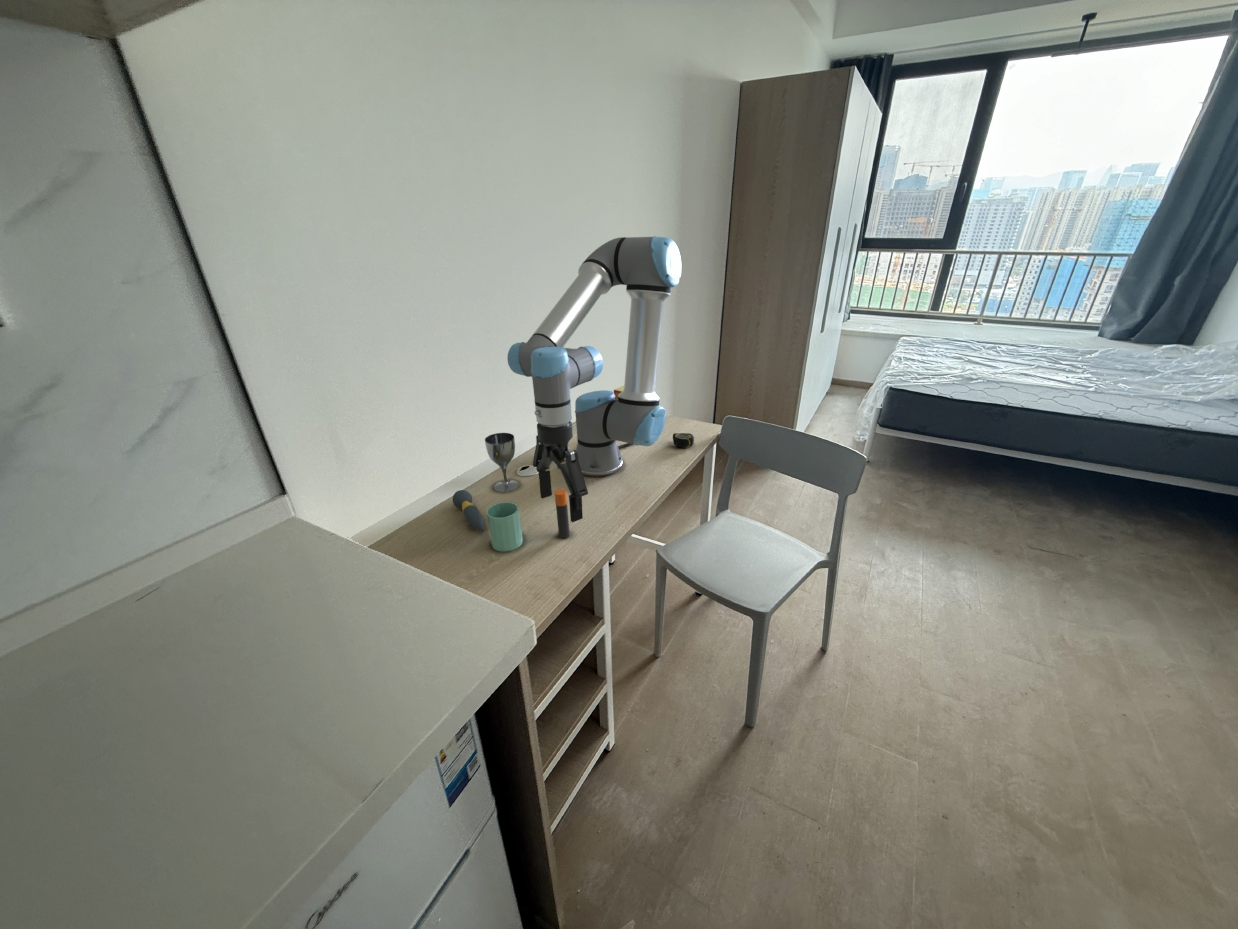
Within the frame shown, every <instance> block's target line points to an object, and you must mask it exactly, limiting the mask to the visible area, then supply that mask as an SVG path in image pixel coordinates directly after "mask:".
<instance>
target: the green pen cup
mask: <svg viewBox="0 0 1238 929" xmlns="http://www.w3.org/2000/svg"><path fill="white" fill-rule="evenodd" d="M485 513H486V520H487V525H488V531H489V537H490V543H491V547H492V548H493V549H494V550H495V551H498V552H511V551H514V550H516V549H518V548H519V547H521V546H522V544H523V543H524V536H523V531H522V523H521V522H522V521H521V515H520V508H519V505H518V504H516V503H514V502H513V501H501V502H497V503H494V504H492V505H490V506H489V507H488V508H487V509H486V512H485Z"/></svg>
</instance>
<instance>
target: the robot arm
mask: <svg viewBox="0 0 1238 929" xmlns="http://www.w3.org/2000/svg"><path fill="white" fill-rule="evenodd" d="M681 276H682V258H681V253H680V250H679V247H678V245H677V244H676V241H674V240H673V239H672V238H670V237H666V236H656V235H654V236H634V237H627V236H624V237H623V236H621V237H616V238H613V239H610V240H608V241H607V242H605V243H603V244H602V245H600V246H599V247H597V248H596V249H595V250H594V251H592V253H590V254H589V255H588V256H587V257H586V258H585V260H584V261H583V262H582V263H581V264H580V266H579V268H578V271H577V276H576V277H575V279H574V280H573V281H572V283H571V284H570V285H569V287H568V288H567V290H565V292H564V293H563V295H562V296H561V297H560V298H559V300H558V301H557V302H556V303H555V305H554V306H553V307H552V309H551V310H550V311H549V313H548V314H547V315H546V316H545V318H544V319H543V321H542V322H541V323H540V325H539V326H538V327H537V328H536V329H535V330H534V332H533V334H532V335H531V336H530V337H529V339H528V340H527V341H526V342H525V341H521V342H515V343H513V344H511V346H510V348H508V352H507V358H506V359H507V365H508V367H509V369H510V370H511V371H512V372H513V373H515V374H517V375H520V376H524V377H527V378H531V380H532V389H533V397H534V408H535V409H534V410H535V411H534V415H535V416H536V417H535V418H536V422H537V424H536V432H537V433H536V434H537V435H536V436H535V442H536V444H535V448H534V454H533V460H532V466H533V468H536V472H537V473H538V483H539V492H540V493H539V494H540V498H541V499H545V498H548V497H550V496H553V488H552V478H551V471H550V469H551V467H550V466H551V464H552V463H554V464H555V465H556V466H555V467H556V468H557V469H558V470H560V472H561V474H562V476H563V479H564V482H565V484H566V486H567V488H568V490H569V495H568V502H569V516H570V522H571V523H575V522H577V521H580V520H583V519H584V516H583V514H584V513H583V497H585V496H587V495H589V491H588V487H587V485H586V481H585V478H584V476H587V477H604V476H605V477H606V476H609V475H613V474H615V473H617V472H619V471H620V470H621V469H622V468H623V456H622V454H621V451H620V449H622V448H626V447H629V446H631V445H634V446H642V447H651V446H653V445H654V444H656V442H657V441H658V440H659V439H660V437H661V435H662V433H663V431H664V428H665V424H666V420H667V414H666V409H665V407H663V406H661V405H660V399H661V398H660V397H659V396H658V394H657V393H656V386H657V373H658V364H659V355H660V354H659V353H660V344H661V335H662V334H661V332H662V323H663V314H664V303H665V301H666V299H667V298H669V297H670V296H671V292H672V288H674V287H677V286H678V285H679V283H680V279H681ZM620 285H621V286H626V287H625V288H626V289H625V292H626V294H627V295H628V296H629V298H630V308H629V309H630V310H629V323H628V335H627V347H626V359H625V360H626V362H625V372H624V373H625V374H624V383H623V384H624V385H623V386H624V390H623V391H622V392H621V393H620V394H619V395H618V400H617V399H615V394H614V391H612V390H606V389H604V390H594V391H590V392H586V393H582V394H580V395H579V396H578V397H577V398H576V399H575V404H574V405H575V406H574V407H575V408H574V409H575V410H574V413H575V424H576V439H577V444H576V449H573V450H570V446H569V442H570V441H571V440H572V439H573V436H574V435H573V423H572V419H573V417H572V416H573V415H572V404H571V403H572V402H571V401H572V400H571V389H574V388H576V387H578V386H581V385H583V384H585V383H589V382H591V381H593V380H594V379H595V378H597V377H598V376H600V374H601V373H602V371H603V368H604V360H603V356H602V354H601V352H600V351H599V350H598V349H596V348H595V347H593V346H591V345H585V346H579V347H578V348H570V347H565V346H566V344H567V343H568V342H569V340H570V339H571V338H572V336H573V335H574V334H575V332H576V331H577V329H578V328H579V326H580V325H581V324H582V322H583V321H584V320H585V318H586V317H587V315H588V314H589V313H590V311H591V310H592V308H593V307H594V306H595V305H596V303H597V301H598V300H599V299H600V297H601V296H602V295H606V294H608V293H609V291H611V289H612V288H613V287H615V286H620ZM617 441H618V442H622V443H623V444H620V445H618V443H617Z"/></svg>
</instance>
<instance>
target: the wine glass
mask: <svg viewBox="0 0 1238 929" xmlns="http://www.w3.org/2000/svg"><path fill="white" fill-rule="evenodd" d="M484 445H485V449H486V453H487V454H488V455H487V456H488V457H489V459H490V460H491V461H492V462H493V463H495V464H496V465H497V466H498V467H499V468H500V469H501V472H502V475H503V480H501V481H499V482H497V483H495V484H494V486H493V490H494V491H496V492H498V493H509V492H512V491H515V490H517V489H518V488H519V487H520V484H519V482H518V481H516V480H513V479H508V477H507V468H508V465H509V464H510V462H511V461H512V460H513V458H514V456H515V453H516V440H515V435H514V434H513V433H510V432H495V433H493V434H492V433H491V434H489V435H488V436H486V437H485V438H484Z"/></svg>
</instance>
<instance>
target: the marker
mask: <svg viewBox="0 0 1238 929" xmlns="http://www.w3.org/2000/svg"><path fill="white" fill-rule="evenodd" d="M554 502H555V509H556V520H557V531H558V532H557V533H558V537H559V538H560V539H567V538H569V537H570V535H571V534H570V522H569V521H570V520H569V510H568V508H569V507H568V495H567V490H566V489H562V488H561V489H556V490H555V491H554Z"/></svg>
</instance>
